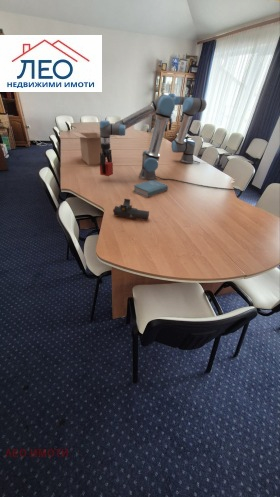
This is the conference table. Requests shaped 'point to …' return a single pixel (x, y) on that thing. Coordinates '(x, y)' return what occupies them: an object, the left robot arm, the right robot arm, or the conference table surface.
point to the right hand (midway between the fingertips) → (167, 130)
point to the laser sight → (130, 211)
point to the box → (90, 146)
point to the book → (150, 188)
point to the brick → (107, 169)
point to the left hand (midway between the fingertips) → (106, 172)
